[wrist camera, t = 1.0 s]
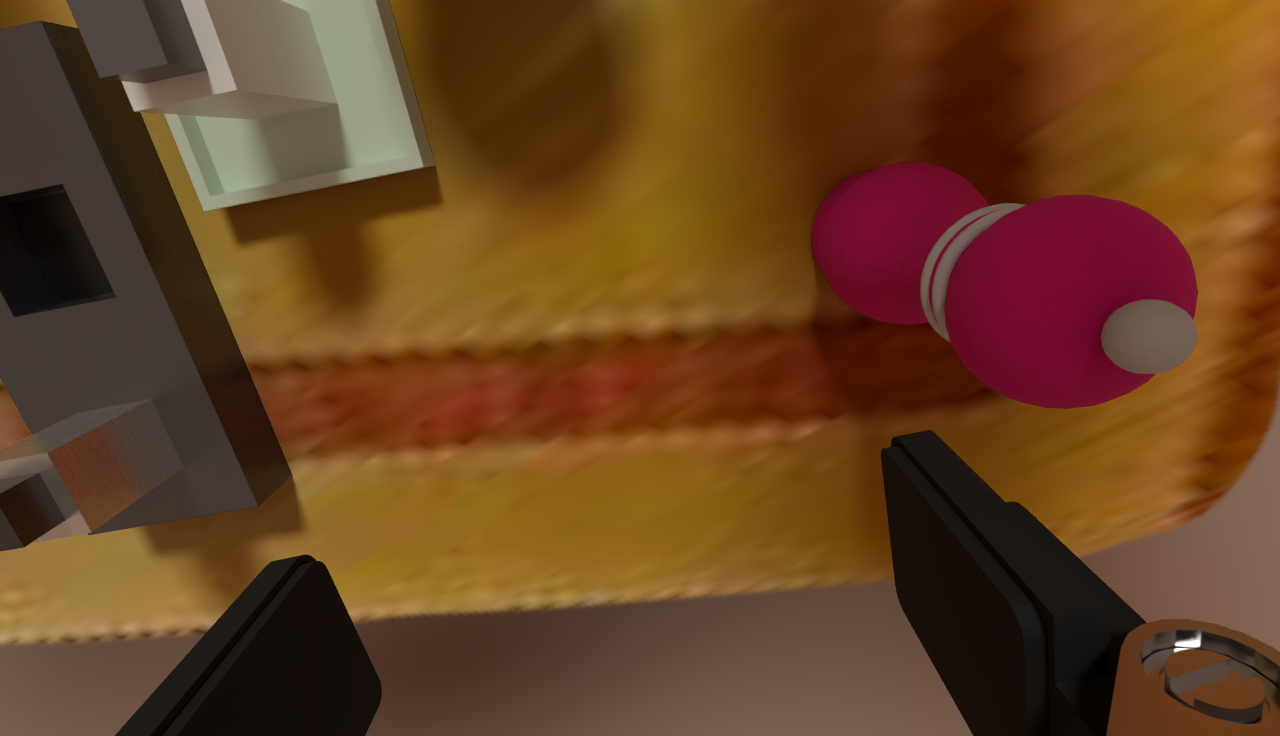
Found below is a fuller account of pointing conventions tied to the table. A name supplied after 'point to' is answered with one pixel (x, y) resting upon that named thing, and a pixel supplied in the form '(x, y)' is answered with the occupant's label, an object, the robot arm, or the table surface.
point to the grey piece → (108, 318)
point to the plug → (207, 55)
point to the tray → (317, 120)
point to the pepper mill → (1014, 281)
